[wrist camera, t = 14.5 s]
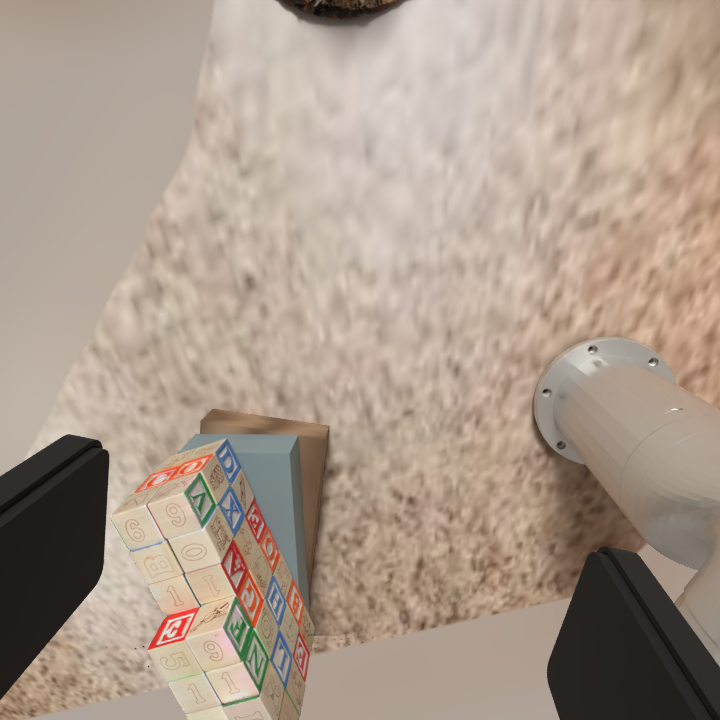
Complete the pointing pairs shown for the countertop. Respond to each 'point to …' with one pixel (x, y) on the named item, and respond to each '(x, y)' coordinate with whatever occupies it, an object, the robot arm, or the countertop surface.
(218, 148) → the countertop surface
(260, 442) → the tower top slab
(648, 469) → the robot arm
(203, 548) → the stack of blocks
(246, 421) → the tower base slab
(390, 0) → the cactus
